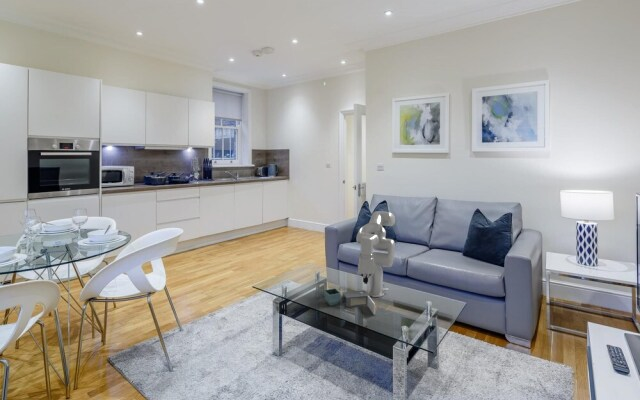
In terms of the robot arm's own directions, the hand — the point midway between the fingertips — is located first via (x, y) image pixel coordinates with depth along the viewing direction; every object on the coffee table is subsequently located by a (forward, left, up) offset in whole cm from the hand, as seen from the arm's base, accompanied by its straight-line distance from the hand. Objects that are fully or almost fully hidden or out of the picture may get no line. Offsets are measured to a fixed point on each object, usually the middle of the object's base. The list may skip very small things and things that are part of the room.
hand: (365, 283), depth 224 cm
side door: (-6, -3, -20) cm, 22 cm away
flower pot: (+17, -18, -21) cm, 33 cm away
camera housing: (+1, -15, -21) cm, 26 cm away
